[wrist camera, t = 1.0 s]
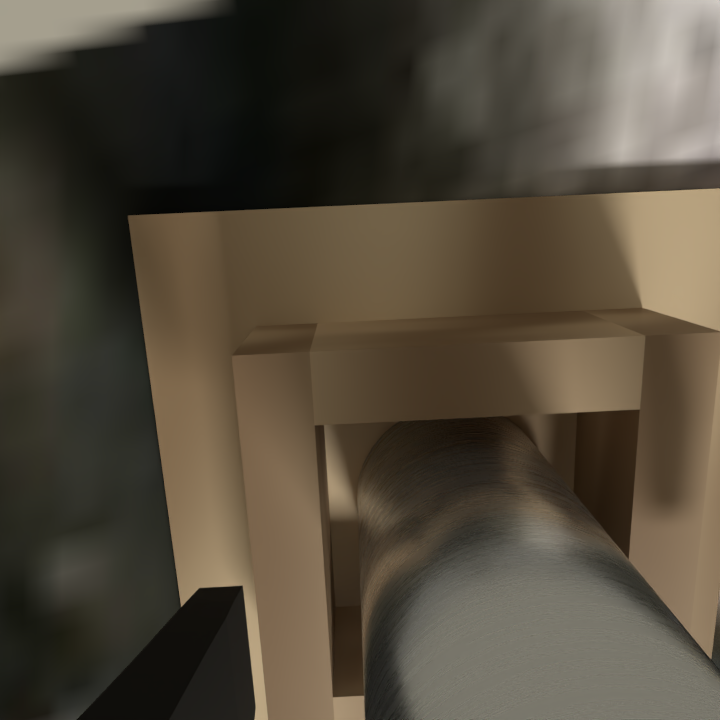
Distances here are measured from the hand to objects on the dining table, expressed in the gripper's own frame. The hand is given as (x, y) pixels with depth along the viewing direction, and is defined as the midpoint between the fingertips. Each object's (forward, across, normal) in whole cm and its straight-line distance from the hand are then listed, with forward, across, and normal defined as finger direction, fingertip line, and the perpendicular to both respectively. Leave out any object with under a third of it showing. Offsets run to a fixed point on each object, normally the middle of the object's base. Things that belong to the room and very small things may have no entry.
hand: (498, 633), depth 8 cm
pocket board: (+5, 0, +3) cm, 6 cm away
